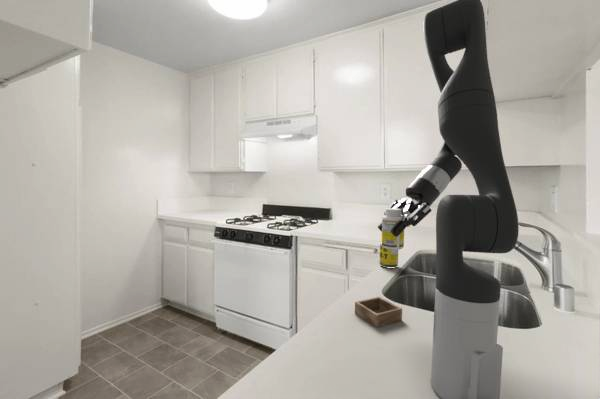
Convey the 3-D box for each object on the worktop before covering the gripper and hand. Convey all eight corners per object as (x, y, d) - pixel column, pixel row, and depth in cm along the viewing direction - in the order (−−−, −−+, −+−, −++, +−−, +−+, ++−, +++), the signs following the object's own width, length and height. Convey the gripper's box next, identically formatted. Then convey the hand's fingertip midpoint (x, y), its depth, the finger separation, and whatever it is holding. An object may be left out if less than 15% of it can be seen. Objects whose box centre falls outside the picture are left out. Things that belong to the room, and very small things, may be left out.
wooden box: (401, 320, 74) (402, 308, 74) (376, 327, 71) (376, 315, 70) (378, 307, 82) (379, 296, 82) (354, 312, 78) (355, 302, 78)
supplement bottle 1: (397, 245, 80) (399, 207, 79) (407, 250, 74) (408, 210, 74) (378, 245, 79) (379, 207, 79) (386, 250, 74) (387, 210, 73)
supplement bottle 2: (375, 264, 123) (377, 234, 122) (390, 263, 125) (391, 233, 125) (386, 269, 116) (387, 237, 115) (401, 268, 119) (402, 236, 118)
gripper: (403, 176, 84) (364, 218, 82) (439, 176, 71) (393, 226, 68) (418, 194, 86) (380, 236, 84) (456, 197, 72) (412, 248, 70)
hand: (386, 231), depth 76 cm, fingers closed on supplement bottle 1, 5 cm apart
